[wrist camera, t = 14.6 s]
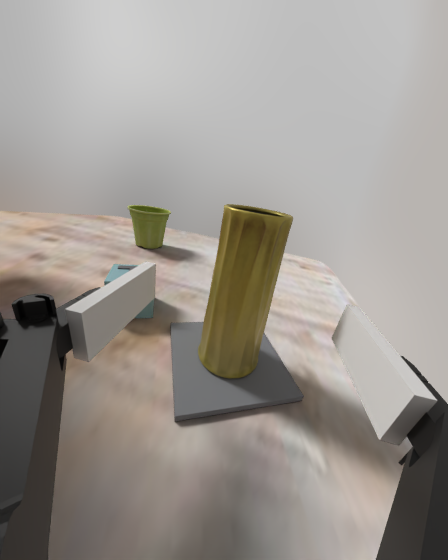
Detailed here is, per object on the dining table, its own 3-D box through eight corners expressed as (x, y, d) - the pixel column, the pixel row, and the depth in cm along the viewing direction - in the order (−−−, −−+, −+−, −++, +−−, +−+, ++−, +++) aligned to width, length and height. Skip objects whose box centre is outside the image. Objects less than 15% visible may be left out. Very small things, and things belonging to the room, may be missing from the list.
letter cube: (107, 319, 25) (104, 280, 22) (116, 297, 29) (113, 263, 27) (152, 318, 26) (153, 281, 24) (154, 297, 30) (154, 264, 28)
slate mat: (174, 421, 15) (175, 416, 15) (170, 327, 25) (170, 322, 25) (301, 400, 19) (303, 396, 18) (254, 324, 28) (255, 320, 28)
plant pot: (163, 240, 58) (164, 207, 54) (173, 251, 50) (176, 214, 47) (126, 239, 53) (125, 203, 49) (131, 251, 46) (130, 210, 42)
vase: (244, 333, 25) (274, 209, 19) (267, 375, 20) (318, 222, 14) (193, 336, 23) (210, 200, 17) (204, 384, 18) (232, 211, 12)
